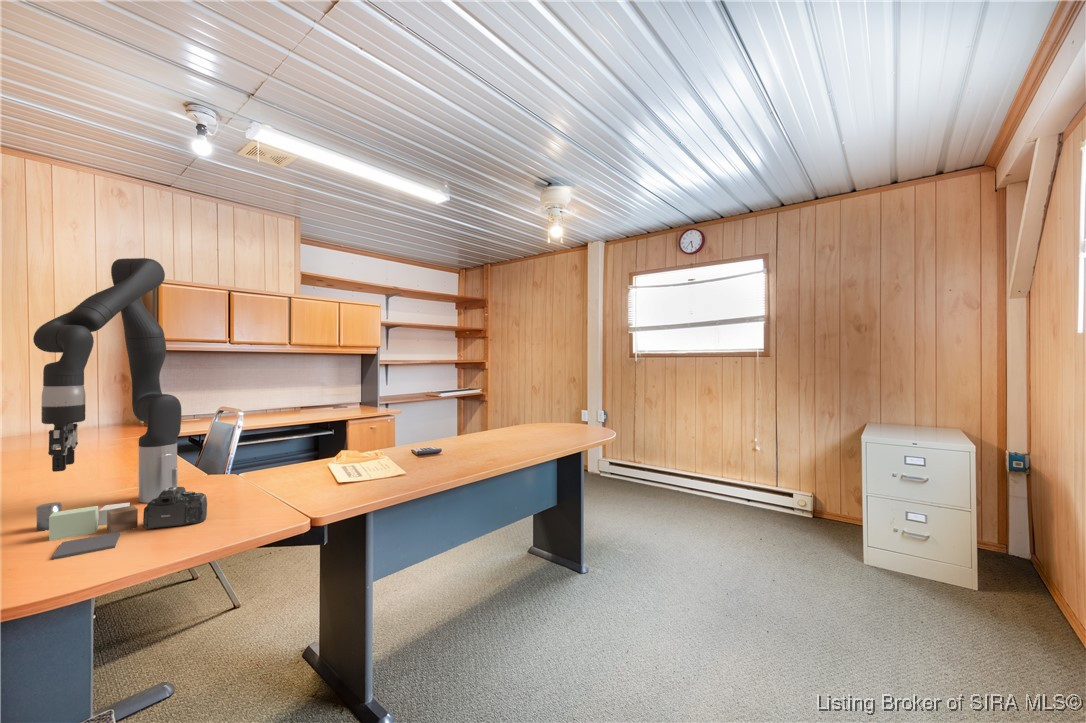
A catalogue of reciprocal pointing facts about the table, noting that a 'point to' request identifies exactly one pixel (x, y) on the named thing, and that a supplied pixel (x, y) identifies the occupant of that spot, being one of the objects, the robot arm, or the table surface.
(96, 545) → the mat
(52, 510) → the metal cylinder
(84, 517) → the sage block
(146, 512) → the camera
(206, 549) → the table surface
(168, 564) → the table surface
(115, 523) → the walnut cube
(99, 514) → the grey box
